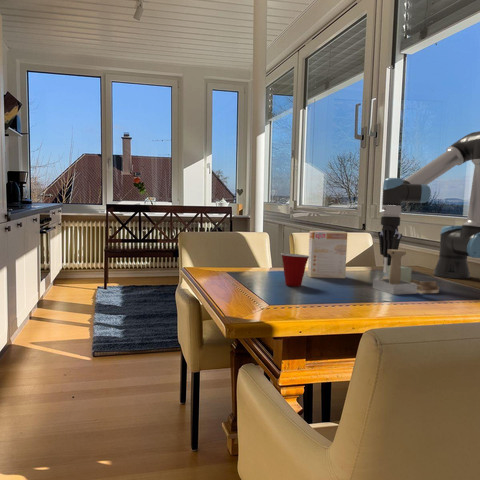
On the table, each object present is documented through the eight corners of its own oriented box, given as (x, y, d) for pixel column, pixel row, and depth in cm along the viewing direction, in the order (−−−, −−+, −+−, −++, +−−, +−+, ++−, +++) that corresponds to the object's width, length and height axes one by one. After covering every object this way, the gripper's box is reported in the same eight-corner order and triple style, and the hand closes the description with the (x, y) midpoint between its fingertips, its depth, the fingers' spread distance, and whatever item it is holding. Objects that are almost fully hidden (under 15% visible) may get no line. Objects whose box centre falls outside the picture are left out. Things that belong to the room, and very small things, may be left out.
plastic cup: (312, 285, 170) (314, 253, 169) (300, 289, 161) (301, 256, 160) (287, 281, 176) (289, 251, 175) (274, 285, 167) (275, 253, 166)
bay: (399, 282, 185) (399, 272, 184) (438, 292, 164) (439, 282, 163) (382, 282, 182) (383, 272, 182) (420, 293, 161) (421, 282, 161)
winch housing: (394, 287, 172) (395, 278, 172) (416, 293, 161) (417, 284, 160) (372, 288, 169) (373, 278, 168) (393, 294, 157) (393, 284, 157)
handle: (398, 293, 161) (401, 251, 159) (382, 290, 165) (385, 249, 164) (405, 291, 164) (408, 250, 163) (389, 288, 169) (391, 249, 167)
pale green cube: (400, 280, 182) (401, 265, 182) (410, 282, 177) (411, 267, 176) (388, 280, 180) (389, 265, 180) (398, 283, 175) (399, 267, 174)
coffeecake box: (341, 275, 195) (343, 231, 194) (345, 278, 188) (348, 232, 186) (307, 274, 195) (309, 230, 193) (310, 277, 188) (312, 231, 186)
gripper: (373, 215, 189) (370, 270, 191) (393, 216, 176) (389, 275, 178) (388, 215, 191) (384, 270, 193) (409, 216, 179) (405, 275, 181)
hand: (387, 272), depth 186 cm, fingers closed
